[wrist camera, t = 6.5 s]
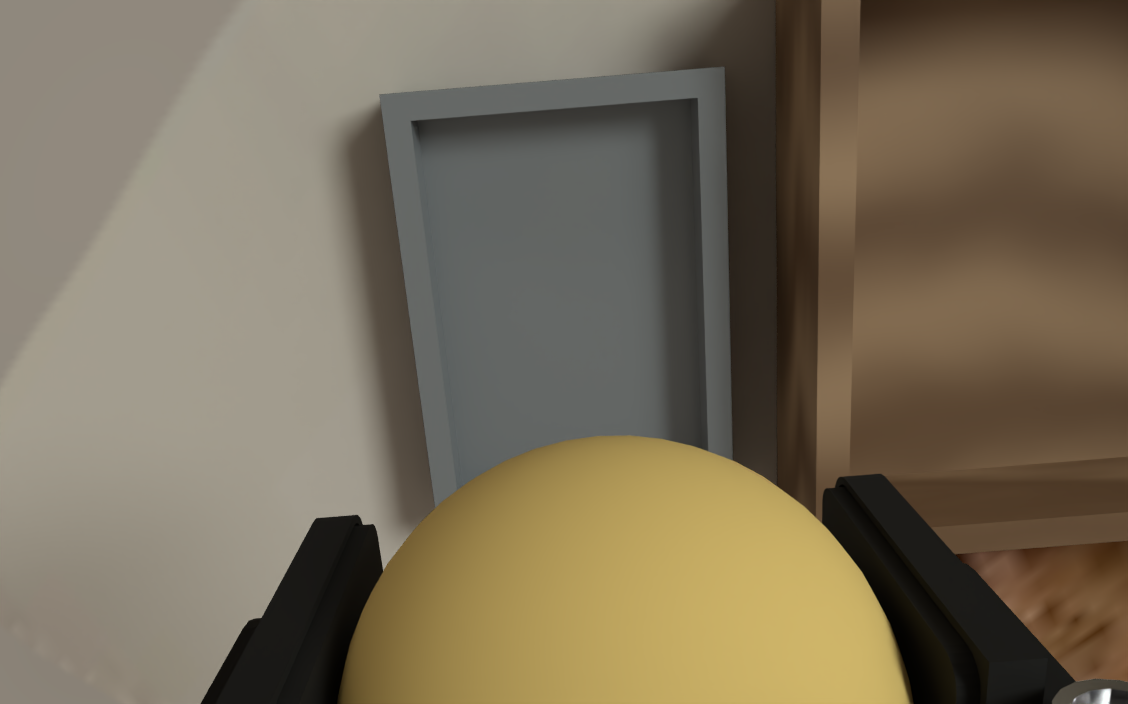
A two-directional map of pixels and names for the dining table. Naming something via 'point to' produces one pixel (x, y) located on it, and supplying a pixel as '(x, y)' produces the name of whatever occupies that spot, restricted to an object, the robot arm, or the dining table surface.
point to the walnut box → (956, 262)
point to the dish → (564, 263)
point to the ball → (622, 591)
